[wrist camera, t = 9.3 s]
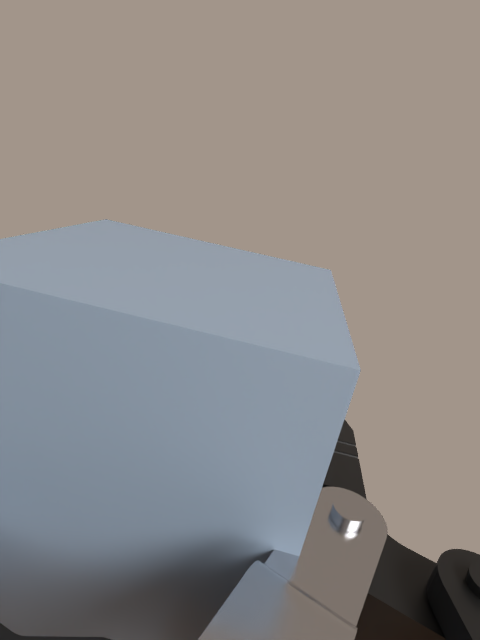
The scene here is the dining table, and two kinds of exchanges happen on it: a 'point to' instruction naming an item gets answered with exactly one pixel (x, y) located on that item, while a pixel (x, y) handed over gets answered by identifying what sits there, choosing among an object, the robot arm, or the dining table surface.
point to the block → (157, 424)
